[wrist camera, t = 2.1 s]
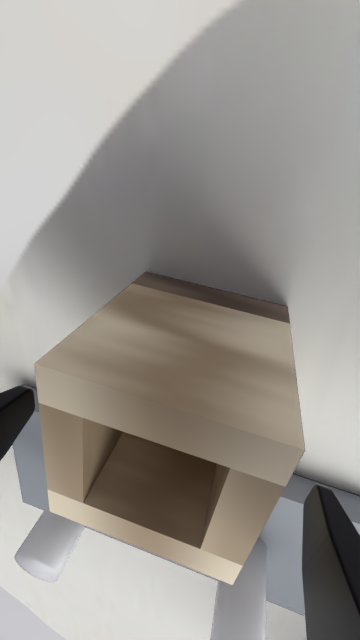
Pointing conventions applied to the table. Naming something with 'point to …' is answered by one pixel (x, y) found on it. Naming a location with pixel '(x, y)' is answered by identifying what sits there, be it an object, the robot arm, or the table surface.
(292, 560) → the pin board
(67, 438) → the sleeve
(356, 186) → the table surface
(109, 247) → the table surface
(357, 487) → the table surface
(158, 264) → the table surface
